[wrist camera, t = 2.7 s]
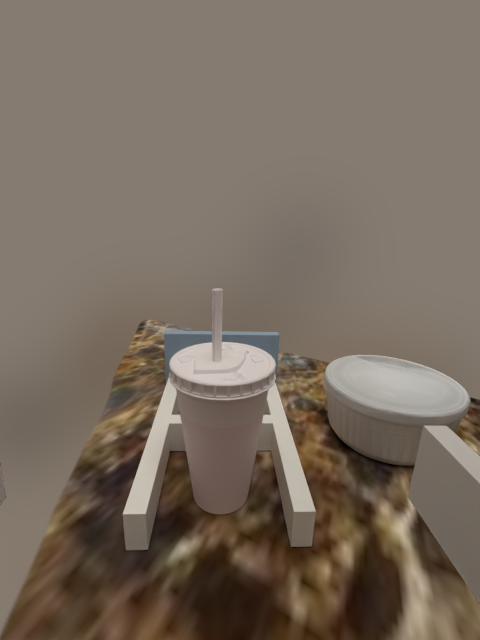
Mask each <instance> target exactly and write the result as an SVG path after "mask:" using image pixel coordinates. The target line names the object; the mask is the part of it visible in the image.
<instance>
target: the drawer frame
mask: <svg viewBox="0 0 480 640" xmlns="http://www.w3.org/2000/svg"><path fill="white" fill-rule="evenodd" d="M210 342H212V331H165V333H164V343H165V371H166V387H165V390H164V393H163V396H162V399H161V402H160V405H159V408H158V411H157V414H156V417H155V420H154V423H153V426H152V429H151V432H150V435H149V438H148V441H147V444H146V447H145V450H144V453H143V456H142V459H141V461H140V464H139V467H138V470H137V473H136V476H135V479H134V482H133V485H132V488H131V491H130V494H129V497H128V500H127V503H126V506H125V509H124V512H123V523H124V535H125V547H126V550H148V547H149V542H150V538H151V534H152V529H153V525H154V520H155V516H156V511H157V507H158V502H159V498H160V494H161V489H162V485H163V480H164V476H165V471H166V467H167V462H168V458H169V454H170V451H186V447H185V441H184V435H183V429H182V423H181V417H180V415H178V414H179V406H178V399H177V392H176V389H175V388H174V386H173V385H172V384H171V383H170V380H169V373H170V366H169V363H170V359H171V358H172V357H173V356H174V355H175V354H176V353H177V352H179V351H180V350H182V349H184V348H187V347H190V346H193V345H197V344H202V343H210ZM222 342H233V343H241V344H246V345H250V346H254V347H257V348H259V349H262V350H264V351H265V352H267V353H268V354H270V355H271V356H272V357H273V359H274V360H275V363H276V367H275V375H276V379H277V364H278V348H279V333H278V332H223V331H222ZM257 451H271V453H272V458H273V463H274V468H275V472H276V477H277V482H278V487H279V492H280V497H281V502H282V507H283V511H284V516H285V521H286V526H287V531H288V536H289V541H290V546H291V547H312V539H313V531H314V522H315V514H316V511H315V507H314V504H313V501H312V498H311V495H310V492H309V488H308V485H307V482H306V479H305V476H304V472H303V469H302V466H301V463H300V460H299V456H298V453H297V450H296V447H295V444H294V441H293V437H292V434H291V431H290V428H289V425H288V421H287V418H286V415H285V412H284V409H283V406H282V402H281V399H280V396H279V393H278V390H277V386H276V380H275V382H274V385H273V386H272V387H271V388H270V389H268V395H267V401H266V406H265V410H264V415H263V421H262V426H261V431H260V436H259V441H258V446H257Z"/></svg>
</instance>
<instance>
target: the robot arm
mask: <svg viewBox="0 0 480 640" xmlns="http://www.w3.org/2000/svg"><path fill="white" fill-rule="evenodd" d="M408 498H409V499H410V501H411V502H412V504H413V505H414V507H415V508H416V510H417V511H418V513H419V514H420V516H421V517H422V519H423V520H424V522H425V523H426V525H427V526H428V528H429V529H430V531H431V532H432V534H433V535H434V537H435V538H436V540H437V541H438V543H439V544H440V546H441V547H442V549H443V550H444V552H445V553H446V555H447V556H448V558H449V559H450V561H451V562H452V564H453V565H454V567H455V568H456V570H457V571H458V573H459V574H460V576H461V577H462V578H463V580H464V581H465V583H466V584H467V586H468V587H469V589H470V590H471V592H472V593H473V595H474V596H475V598H476V599H477V601H478V602H479V604H480V456H479V455H478V454H477V453H476V452H475V451H473V450H472V449H471V448H470V447H469V446H468V445H467V444H466V443H465V442H464V441H463V440H461V439H460V438H459V437H458V436H457V435H456V434H455V433H454V432H453V431H452V430H451V429H450V428H448V427H447V426H423V429H422V434H421V439H420V443H419V448H418V452H417V457H416V462H415V466H414V471H413V475H412V480H411V485H410V489H409V494H408ZM5 499H6V492H5V486H4V480H3V475H2V469H1V464H0V505H1V504H2V503H3V501H4V500H5Z"/></svg>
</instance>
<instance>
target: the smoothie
mask: <svg viewBox="0 0 480 640" xmlns="http://www.w3.org/2000/svg"><path fill="white" fill-rule="evenodd" d="M222 293H223V292H222V289H219V288H217V289H213V294H212V295H213V296H212V298H213V299H212V303H213V304H212V307H213V308H212V310H213V311H212V342H210V343H202V344H197V345H193V346H190V347H187V348H184V349H182V350H180V351H179V352H177V353H176V354H175V355H174V356H173V357H172V358H171V359H170V363H169V366H170V373H169V380H170V383H171V384H172V385H173V386H174V388H175V389H176V392H177V399H178V406H179V411H180V417H181V423H182V429H183V435H184V441H185V447H186V454H187V460H188V466H189V472H190V478H191V484H192V490H193V496H194V500H195V502H196V504H197V505H198V506H199V507H200V508H201V509H203V510H204V511H206V512H209V513H212V514H228V513H232V512H234V511H236V510H238V509H239V508H241V507H242V506H243V505H244V503H245V502H246V500H247V497H248V492H249V487H250V482H251V477H252V472H253V467H254V462H255V456H256V451H257V446H258V441H259V436H260V431H261V426H262V421H263V415H264V410H265V406H266V401H267V395H268V389H270V388H271V387H272V386H273V385H274V382H275V380H276V375H275V367H276V363H275V360H274V359H273V357H272V356H271V355H270V354H268V353H267V352H265V351H264V350H262V349H259V348H257V347H254V346H250V345H246V344H241V343H233V342H222V297H223V294H222Z"/></svg>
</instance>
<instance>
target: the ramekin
mask: <svg viewBox="0 0 480 640" xmlns="http://www.w3.org/2000/svg"><path fill="white" fill-rule="evenodd" d="M324 383H325V387H326V390H327V408H328V419H329V423H330V425H331V427H332V429H333V430H334V432H335V433H336V434H337V436H338V437H339V438H340V439H341V440H342V441H343V442H344V443H345V444H347V445H348V446H349V447H351V448H352V449H353V450H355V451H357V452H359V453H360V454H362V455H365V456H367V457H369V458H372V459H374V460H378V461H381V462H385V463H389V464H395V465H405V466H412V465H415V462H416V457H417V452H418V448H419V443H420V439H421V434H422V429H423V426H447V427H448V428H450V429H451V430H452V431H453V432H454V433H455V431H456V429H457V427H458V425H459V422H460V420H461V419H462V418H463V417H464V416H465V415H466V414H467V412H468V408H469V405H470V397H469V395H468V393H467V391H466V390H465V389H464V388H463V387H462V386H461V385H460V384H459V383H457V382H456V381H455V380H453V379H451V378H450V377H448V376H446V375H444V374H443V373H440V372H438V371H436V370H434V369H431V368H429V367H426V366H423V365H420V364H417V363H414V362H410V361H406V360H401V359H397V358H392V357H384V356H376V355H355V356H347V357H342V358H339V359H336V360H334V361H333V362H331V363H330V364H329V365H328V366H327V368H326V370H325V375H324Z"/></svg>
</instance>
